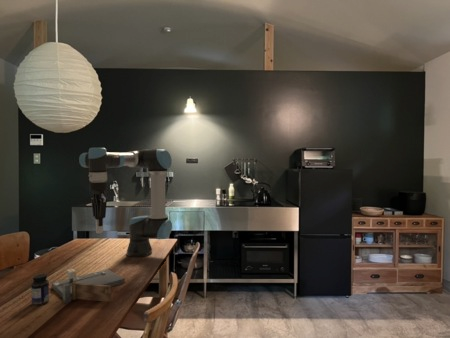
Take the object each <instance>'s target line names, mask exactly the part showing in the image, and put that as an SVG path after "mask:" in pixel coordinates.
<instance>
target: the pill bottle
mask: <svg viewBox="0 0 450 338" xmlns="http://www.w3.org/2000/svg"><path fill="white" fill-rule="evenodd" d="M47 278H48V277H47V274H46V273H39V274H35V275H34V276H33V277H32V279H33V280H32V282H31V286H30V290H31V291H30V292H31V296H30V297H31V298H30V299H31V306H35V307H40V306H44V305H46V304H47V303H49V302H50V282H49V280H48V279H47Z"/></svg>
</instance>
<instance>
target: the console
mask: <svg viewBox="0 0 450 338" xmlns="http://www.w3.org/2000/svg"><path fill="white" fill-rule="evenodd" d="M73 282H77V283H81V284H95V285H109V286H111V287H115V286H119V285H122V284H125V278H124V277H122V276H121V275H119V274H117V273H115V272H113V271H111V270H110V269H108V268H107V269H103V270H100V271H96V272H91V273H87V274H84V275H79V276H76V278H73ZM65 283H69V284H70V293H71V299H72V282H70V278H66V279H63V280H59V281H54V282H52V283H51V288H52V289H53V291H55V292H56V293H57V294H58V295H59V296H60V297H61V298H62V299H63V284H65Z"/></svg>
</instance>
